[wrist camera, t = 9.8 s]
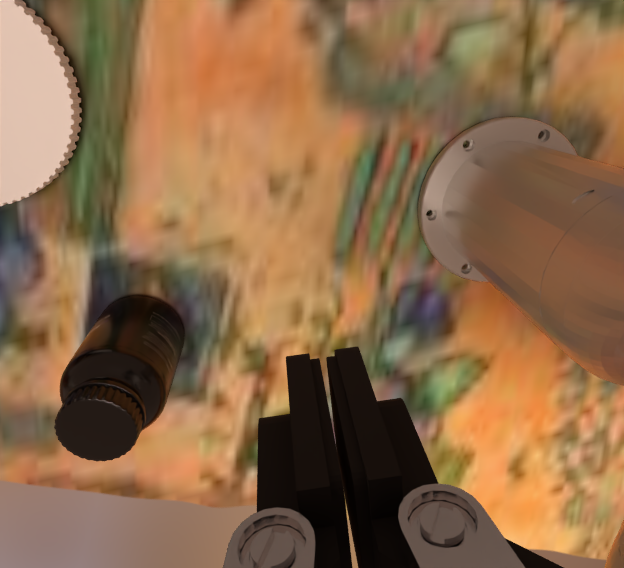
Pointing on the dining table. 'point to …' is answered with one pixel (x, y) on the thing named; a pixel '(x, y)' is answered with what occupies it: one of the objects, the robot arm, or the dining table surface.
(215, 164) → the dining table surface
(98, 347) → the supplement bottle
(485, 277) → the robot arm
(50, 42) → the plastic lid
